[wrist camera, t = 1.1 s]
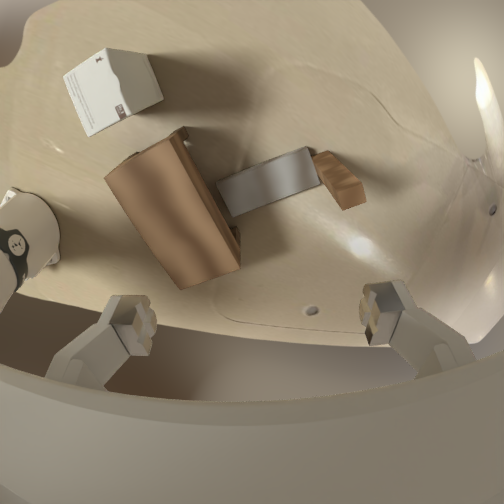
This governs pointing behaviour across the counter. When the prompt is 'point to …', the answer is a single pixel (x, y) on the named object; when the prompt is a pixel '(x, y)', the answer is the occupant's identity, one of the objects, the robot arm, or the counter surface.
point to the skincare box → (111, 88)
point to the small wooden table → (176, 212)
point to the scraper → (290, 181)
